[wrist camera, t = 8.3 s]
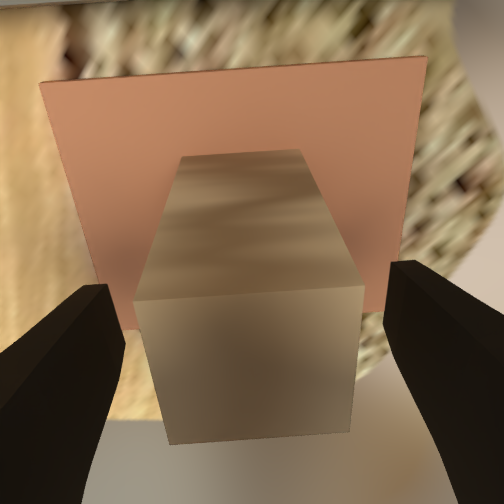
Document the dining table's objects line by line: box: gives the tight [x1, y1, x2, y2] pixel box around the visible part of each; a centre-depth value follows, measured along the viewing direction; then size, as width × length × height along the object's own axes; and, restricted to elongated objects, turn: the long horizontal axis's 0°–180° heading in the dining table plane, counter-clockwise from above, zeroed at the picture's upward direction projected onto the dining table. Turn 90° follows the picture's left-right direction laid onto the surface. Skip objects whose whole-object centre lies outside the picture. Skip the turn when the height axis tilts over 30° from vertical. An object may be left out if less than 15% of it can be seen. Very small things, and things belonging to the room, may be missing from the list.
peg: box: [133, 149, 365, 445], centre depth 11 cm, size 4×4×8 cm
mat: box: [39, 56, 428, 330], centre depth 15 cm, size 12×10×1 cm
